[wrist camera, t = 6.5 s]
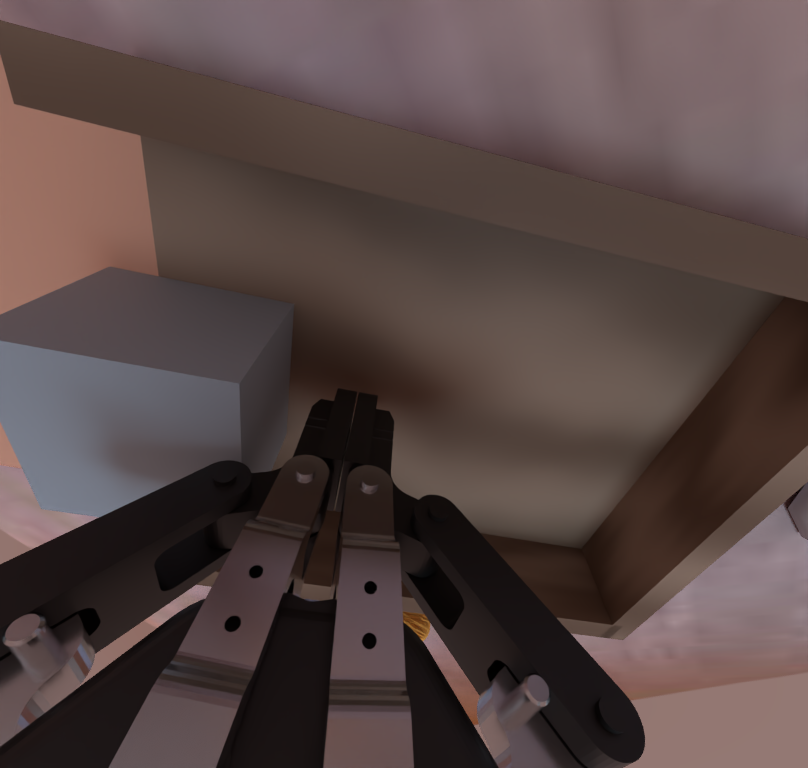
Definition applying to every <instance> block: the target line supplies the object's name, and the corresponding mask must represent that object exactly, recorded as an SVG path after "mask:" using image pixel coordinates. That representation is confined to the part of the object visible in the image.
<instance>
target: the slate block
mask: <svg viewBox="0 0 808 768" xmlns="http://www.w3.org/2000/svg"><path fill="white" fill-rule="evenodd" d="M293 314H294V304H291V303H287V302H282V301H277V300H272V299H267V298H262V297H257V296H252V295H247V294H242V293H237V292H233V291H228V290H223V289H218V288H213V287H208V286H203V285H198V284H193V283H188V282H183V281H179V280H174V279H169V278H164V277H159V276H154V275H149V274H144V273H139V272H134V271H129V270H125V269H120V268H115V267H107V268H105V269H103V270H100V271H98V272H96V273H94V274H91V275H89V276H87V277H84V278H82V279H80V280H78V281H75V282H73V283H71V284H69V285H66V286H64V287H62V288H59V289H57V290H55V291H53V292H50V293H48V294H46V295H44V296H41V297H39V298H37V299H34V300H32V301H30V302H28V303H25V304H23V305H21V306H19V307H16V308H14V309H12V310H9V311H7V312H5V313H3V314H0V423H1V425H2V427H3V429H4V431H5V433H6V435H7V438H8V440H9V442H10V444H11V446H12V448H13V450H14V452H15V454H16V456H17V459H18V461H19V463H20V465H21V467H22V469H23V471H24V473H25V475H26V478H27V480H28V482H29V484H30V486H31V488H32V490H33V492H34V494H35V497H36V499H37V501H38V503H39V505H40V507H41V509H45V510H52V511H59V512H67V513H74V514H81V515H88V516H95V517H101V516H103V515H105V514H108V513H110V512H112V511H114V510H116V509H118V508H120V507H122V506H124V505H127V504H129V503H131V502H133V501H135V500H137V499H139V498H141V497H143V496H146V495H148V494H150V493H152V492H154V491H156V490H158V489H160V488H162V487H164V486H167V485H169V484H171V483H173V482H175V481H177V480H179V479H181V478H183V477H186V476H188V475H190V474H192V473H194V472H196V471H198V470H200V469H202V468H205V467H207V466H209V465H211V464H213V463H216V462H219V461H225V460H233V461H238V462H241V463H243V464H245V465H246V466H247V467H248V468H249V469H250V471H251V473H258V472H268V471H271V470H272V468H273V465H274V463H275V460H276V458H277V456H278V453H279V451H280V448H281V446H282V444H283V441H284V439H285V436H286V433H287V416H288V399H289V382H290V365H291V348H292V331H293Z"/></svg>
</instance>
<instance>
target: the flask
mask: <svg viewBox="0 0 808 768" xmlns="http://www.w3.org/2000/svg"><path fill="white" fill-rule="evenodd" d="M788 510H789V512H790V514H791V516H792V518H793V520H794V522H795V524H796V526H797V528H798V530H799V532H800V534H801V536H802V537H803V538H805V539H807V540H808V482H807V483H806V484H805V485H804V487H803V488H802V489H801V491H800V492H799V493H798V495H797V496H796V498H795V499H794V500H793V502H792V503H791V505H790V506H789V507H788Z"/></svg>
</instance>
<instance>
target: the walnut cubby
mask: <svg viewBox="0 0 808 768" xmlns="http://www.w3.org/2000/svg"><path fill="white" fill-rule="evenodd" d="M0 55H1V58H2V62H3V66H4V69H5V73H6V77H7V80H8V84H9V88H10V91H11V95H12V99H13V102H14V104H16V105H20V106H24V107H28V108H32V109H36V110H40V111H44V112H48V113H52V114H56V115H60V116H64V117H68V118H72V119H76V120H80V121H84V122H88V123H92V124H96V125H100V126H104V127H108V128H112V129H116V130H120V131H124V132H128V133H132V134H136V135H140V137H141V145H142V153H143V160H144V168H145V176H146V183H147V191H148V198H149V206H150V214H151V221H152V229H153V236H154V244H155V252H156V259H157V267H158V275H159V277H164V278H169V279H174V280H179V281H183V282H188V283H193V284H198V285H203V286H208V287H213V288H218V289H223V290H228V291H233V292H237V293H242V294H247V295H252V296H257V297H262V298H267V299H272V300H277V301H282V302H287V303H291V304H294V314H293V331H292V348H291V365H290V382H289V399H288V416H287V433H286V436H285V439H284V441H283V444H282V446H281V448H280V451H279V453H278V456H277V458H276V460H275V463H274V465H273V468H272V470H271V471H273V470H276V469H279V468H281V467H283V465H284V464H285V463H286V461H288V460H289V459H291V458H292V457H293V455H294V452H295V450H296V447H297V445H298V442H299V439H300V437H301V434H302V431H303V429H304V426H305V423H306V421H307V418H308V415H309V413H310V410H311V407H312V406H313V405H314V404H315V403H316V402H318V401H319V400H320V399H325V400H330V401H334V399H335V396H336V393H337V389H338V388H341V389H346V390H351V391H357V397H356V403H357V398H358V394H359V392H362V393H368V394H373V395H378V400H377V407H376V409H380V410H385V411H390V413H391V415H392V417H393V419H394V432H393V433H394V434H393V449H392V463H391V477H392V480H393V482H394V484H395V485H396V486H397V487H398V488H399V489H400V490H401V491H402V492H404V493H406V494H407V495H410V496H412V497H414V498H416V499H418V500H419V499H420V498H421V497H423V496H426V495H439V496H442V497H445V498H447V499H448V500H450V501H451V502H452V503H453V504H454V505H455V506H456V507H457V508H458V509H459V510H460V511H461V512H462V514H463V515H464V516H465V517H466V518H467V519H468V520H469V521H470V522H471V524H472V525H473V526H474V527H475V528H476V529H477V530H478V531H479V532H480V534H481V535H482V536H483V537H484V538H485V539H486V540H487V541H488V542H489V544H490V545H491V546H492V547H493V548H494V549H495V550H496V551H497V552H498V554H499V555H500V556H501V557H502V558H503V559H504V560H505V561H506V562H507V564H508V565H509V566H510V567H511V568H512V569H513V570H514V571H515V572H516V574H517V575H518V576H519V577H520V578H521V579H522V580H523V581H524V582H525V584H526V585H527V586H528V587H529V588H530V589H531V590H532V591H533V592H534V594H535V595H536V596H537V597H538V598H539V599H540V600H541V601H542V602H543V604H544V605H545V606H546V607H547V608H548V609H549V610H550V611H551V612H552V614H553V615H554V616H555V617H556V618H557V619H558V620H559V621H560V622H561V624H562V625H563V626H564V627H565V628H566V629H567V630H568V631H569V632H570V633H572V634H580V635H588V636H596V637H603V638H611V639H619V640H624V639H625V638H626V637H627V636H628V635H629V634H631V633H632V632H633V631H634V630H635V629H636V628H638V627H639V626H640V625H641V624H642V623H643V622H645V621H646V620H647V619H648V618H649V617H650V616H652V615H653V614H654V613H655V612H656V611H657V610H659V609H660V608H661V607H662V606H663V605H664V604H666V603H667V602H668V601H669V600H670V599H671V598H673V597H674V596H675V595H676V594H677V593H678V592H680V591H681V590H682V589H683V588H684V587H685V586H687V585H688V584H689V583H690V582H691V581H692V580H694V579H695V578H696V577H697V576H698V575H700V574H701V573H702V572H703V571H704V570H705V569H707V568H708V567H709V566H710V565H711V564H712V563H714V562H715V561H716V560H717V559H718V558H719V557H721V556H722V555H723V554H724V553H725V552H726V551H728V550H729V549H730V548H731V547H732V546H733V545H735V544H736V543H737V542H738V541H739V540H740V539H742V538H743V537H744V536H745V535H746V534H747V533H749V532H750V531H751V530H752V529H753V528H754V527H756V526H757V525H758V524H759V523H760V522H761V521H763V520H764V519H765V518H766V517H767V516H768V515H770V514H771V513H772V512H773V511H774V510H775V509H777V508H778V507H779V506H780V505H781V504H782V503H784V502H785V501H786V500H787V499H788V498H789V497H791V496H792V495H793V494H794V493H795V492H796V491H798V490H799V489H800V488H801V487H802V486H803V485H805V484H806V483H807V482H808V239H807V238H803V237H800V236H796V235H792V234H788V233H785V232H781V231H777V230H774V229H770V228H766V227H763V226H759V225H755V224H752V223H748V222H744V221H740V220H737V219H733V218H729V217H726V216H722V215H718V214H715V213H711V212H707V211H703V210H700V209H696V208H692V207H689V206H685V205H681V204H678V203H674V202H670V201H667V200H663V199H659V198H655V197H652V196H648V195H644V194H641V193H637V192H633V191H630V190H626V189H622V188H618V187H615V186H611V185H607V184H604V183H600V182H596V181H593V180H589V179H585V178H582V177H578V176H574V175H570V174H567V173H563V172H559V171H556V170H552V169H548V168H545V167H541V166H537V165H533V164H530V163H526V162H522V161H519V160H515V159H511V158H508V157H504V156H500V155H497V154H493V153H489V152H485V151H482V150H478V149H474V148H471V147H467V146H463V145H460V144H456V143H452V142H448V141H445V140H441V139H437V138H434V137H430V136H426V135H423V134H419V133H415V132H412V131H408V130H404V129H400V128H397V127H393V126H389V125H386V124H382V123H378V122H375V121H371V120H367V119H363V118H360V117H356V116H352V115H349V114H345V113H341V112H338V111H334V110H330V109H327V108H323V107H319V106H315V105H312V104H308V103H304V102H301V101H297V100H293V99H290V98H286V97H282V96H278V95H275V94H271V93H267V92H264V91H260V90H256V89H253V88H249V87H245V86H242V85H238V84H234V83H230V82H227V81H223V80H219V79H216V78H212V77H208V76H205V75H201V74H197V73H193V72H190V71H186V70H182V69H179V68H175V67H171V66H168V65H164V64H160V63H157V62H153V61H149V60H145V59H142V58H138V57H134V56H131V55H127V54H123V53H120V52H116V51H112V50H108V49H105V48H101V47H97V46H94V45H90V44H86V43H83V42H79V41H75V40H72V39H68V38H64V37H60V36H57V35H53V34H49V33H46V32H42V31H38V30H35V29H31V28H27V27H23V26H20V25H16V24H12V23H9V22H5V21H1V20H0ZM356 403H355V408H356ZM355 408H354V412H355ZM353 417H354V414H353ZM352 422H353V420H352ZM351 426H352V425H351ZM350 431H351V430H350ZM343 464H344V463H343ZM342 469H343V468H342ZM341 475H342V473H341ZM340 481H341V477H340ZM339 486H340V482H339ZM338 492H339V487H338V491H337V496H336V500H335V505H334V510H333V511H329V510H327V511H326V515H325V520H324V523H323V526H322V527H321V531H320V535H319V538H318V541H317V544H316V547H315V550H314V553H313V556H312V559H311V562H310V565H309V568H308V571H307V574H306V577H305V580H304V583H303V587H302V590H301V594H300V598H303V599H311V600H319V601H322V600H329V598H330V590H331V581H332V572H333V563H334V554H335V544H336V535H337V530H338V525H339V519H340V514H341V512H336V511H335V509H336V503H337V498H338ZM221 569H222V567H221V568H220V569H218V570H217V571H215V572H214V573H212V574H211V575H209V576H208V577H206V578H205V579H204V580H202V581H201V582H199V583H198V584H196V585H203V586H211V587H212V586H213V584H214V582H215V580H216V578H217V576H218V574H219V573H220V571H221ZM401 586H402V609H403V612H411V613H419V614H424V613H423V611H422V610H421V608H420V607H419V605H418V604H417V602H416V601H415V599H414V598H413V596H412V595H411V593H410V592H409V591H408V589H407V588H406V586H405V585H404V583H403V582H402V580H401Z"/></svg>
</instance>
